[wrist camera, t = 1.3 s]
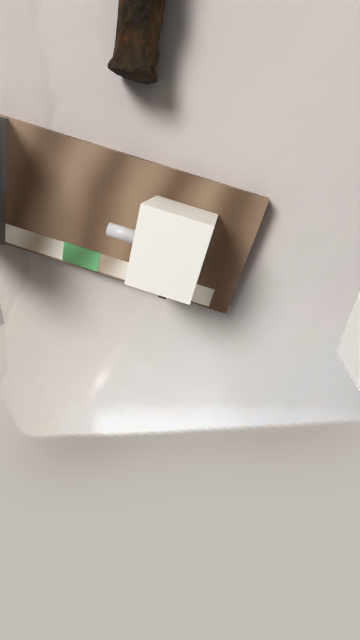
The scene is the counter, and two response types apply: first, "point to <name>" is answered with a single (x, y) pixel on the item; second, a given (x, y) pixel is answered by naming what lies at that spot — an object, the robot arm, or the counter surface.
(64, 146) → the gauge board
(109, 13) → the counter surface
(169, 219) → the gauge slider
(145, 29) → the hand tool
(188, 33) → the counter surface
